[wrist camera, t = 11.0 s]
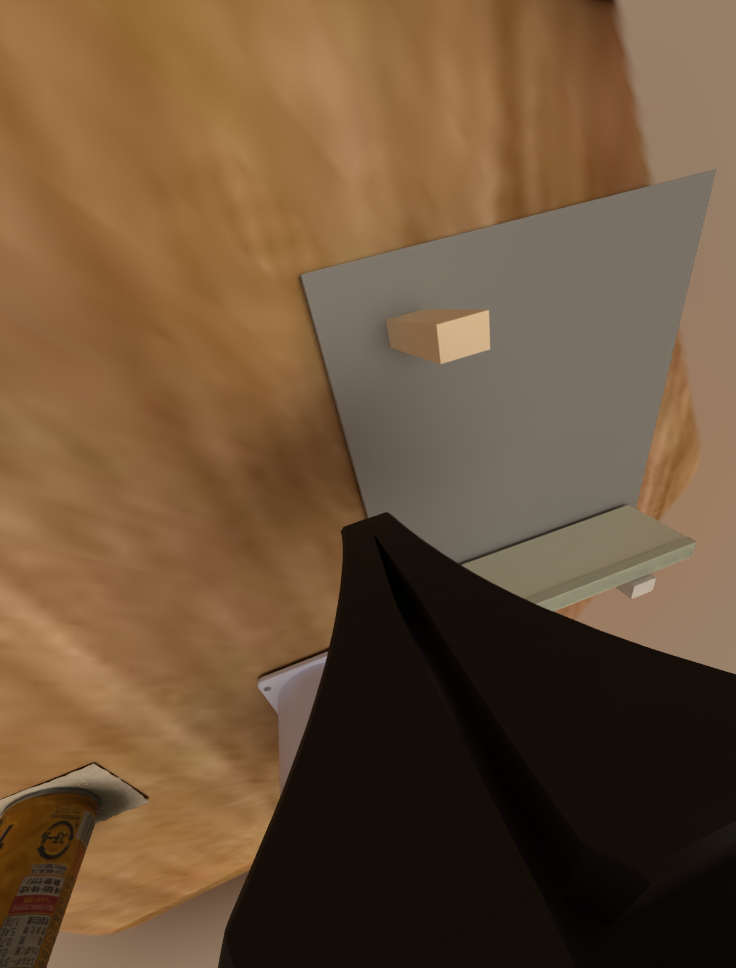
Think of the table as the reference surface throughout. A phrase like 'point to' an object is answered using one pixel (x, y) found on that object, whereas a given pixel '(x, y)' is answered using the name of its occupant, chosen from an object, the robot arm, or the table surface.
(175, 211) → the table surface
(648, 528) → the gate
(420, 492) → the grey square baseplate
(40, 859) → the condiment
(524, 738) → the robot arm
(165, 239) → the table surface
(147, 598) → the table surface
